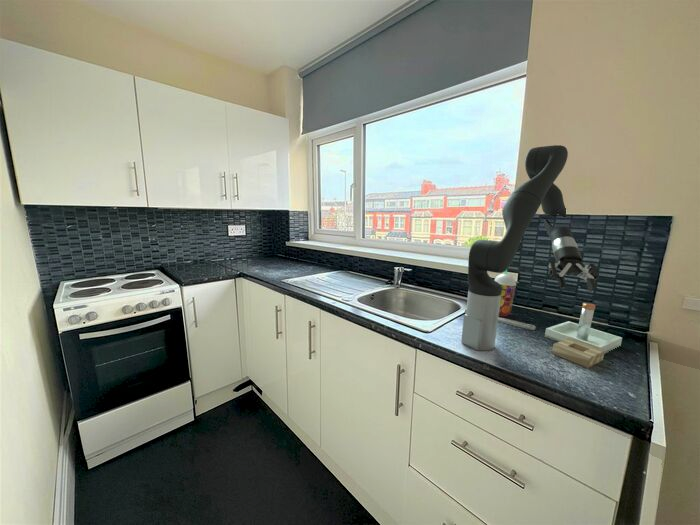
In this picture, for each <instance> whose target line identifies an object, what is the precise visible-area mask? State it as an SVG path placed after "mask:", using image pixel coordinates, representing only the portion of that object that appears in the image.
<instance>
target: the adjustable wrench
mask: <svg viewBox="0 0 700 525" xmlns="http://www.w3.org/2000/svg"><path fill="white" fill-rule="evenodd" d="M466 309H467V308H465V309H464V313H465V314H466ZM465 314H464V315H465ZM498 323H502V324H506V325H509V326H510V325H511V326H514V327H519V328H523V329H526V330H532V331H535V330H536V326H535V325H534V324H529V323H525V322H521V321H518V320H517V321H516V320H513V319H509V318H504V317H501V316H498Z"/></svg>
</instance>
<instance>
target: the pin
mask: <svg viewBox="0 0 700 525" xmlns="http://www.w3.org/2000/svg"><path fill="white" fill-rule="evenodd" d="M595 310H596V304H593V303H590V302H582V308H581V312H580V315H579V316H580V317H579V322H578V324H579V326H578V330H577V335H576V338H578V339H581V340H584V341H587V340H588V336H589V332H590V328H592V322H593V317H594V312H595Z"/></svg>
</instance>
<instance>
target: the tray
mask: <svg viewBox="0 0 700 525" xmlns="http://www.w3.org/2000/svg"><path fill="white" fill-rule="evenodd" d="M578 326H579V323H576V322H572V321H569V320H568V321H565V322H562V323H558V324H555V325H552V326H549V327H546V328H545V331H544V332H545V333H544V338H547V339H550V340H551V341H555V342H560V341H563V340H565V339H568V338H570V339H573V340H575V341H578V342H581V343H584V344H587V345H590V346H592V347H595V348H598V349H601V350H604V351H605V352H604V355H605V354H607V353H609V351H610V352H611V350H612V351H614V350H616V349H618V348H620V347H621V345H622V341H623V337H621V336H618V335H614V334H612V333H609V332H605V331H601V330H599V329H597V328H596V329H595V328H593V327H590V332H589V336H588V340H587V341H584V340H581V339H578V338H576V335H577V330H578ZM619 346H620V347H619ZM617 347H618V348H617ZM615 348H616V349H615ZM613 349H614V350H613Z"/></svg>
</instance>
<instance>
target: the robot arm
mask: <svg viewBox="0 0 700 525" xmlns="http://www.w3.org/2000/svg"><path fill="white" fill-rule="evenodd" d="M568 156H569V151H568V149H567V146H564V145H561V144H560V145H559V144H558V145H557V144H556V145H545V146H537V147H532V148H530V149H529V150H528V152H527V153H526V155H525V159H524V168H525V171H526V175H527V176H528V178H529V180H527V181H525V182H523V183H522V184H520V185H519V186H517V187H516V188H515V189H514V190H513V191H512V192H511V193H510V194H509V197H508V198H507V200H506V201H505V203H504V204H503V207H502V211H501V213H502V214H501V215H502V218H503V222H504V225H505V230H506V231H505V234H504V236H503V238H502V239H501V240H500V241H497V240H490V239H489V240H488V239H476V240H475V241H474V242H473V243H472V245H471V246H470V248H469V249H470V250H469V252H468V261H467V262H468V267H467V268H468V269H467V284H468V290H467V291H468V292H467V299H466V308H465V309H466V312H465V313H466V314H464V315H463V322H462V331H461V332H462V333H461V341H460V342H461V343H462V344H464V345H465V346H467V347H469V348H471V349H473V350H476V351H491V350H494V349H495V347H496V341H497V331H498V324H499V322H498V317H500V316H499V308H500V301H501V293H502V286H501V285H500V284H499V283H498V282H496V281H495V279H493V278H492V277H491V276H490V275H489V273H488V272H491V273H496V274H497V273H498V274H503V273H505V271H506V270H507V271H508V269H509V267H510V266H511V264H512V263H513V260H514V259H515V258H514V257H515V256H516V253H517V251H518V248H519V246H520V244H521V241H522V239H523V237H524V235H525V232H526V231H527V229H528V227H529V226H530V224H531V222H532V220H533V219H534V217H535V216H536V214H537V212H538V210H539V208H540V207H541V209H542V212H543V214H548V215H557V214H559V215H561V216H563V217H566V208H567V207H566V205H565V203H564V198H563V193H562V190H561V189H560V188H559V186H557V185H556V184H555V183H554V182H555V181H556V179H557V178H558V176H559V175H560V174H561V172H562V171H563V169H564V168H565V165H566V164H567V160H568ZM565 207H566V208H565ZM543 222H544V226H545V229H546V231H547V232H546V231H545V232H546V233H547V235H548V236H549V239H550V242H551V248H552V252H553V254H554V255H553V256H554V258H555V261H550V263H549V264H548V265H547V268H548V273H549V277H550V279H556V281H557V284H558V287H559V288H560V289H561V290H565V289H566V288H567V283H566V280H565V277H564V276H565V275H566V276H573V277H574V276H576V277H578V278H580V279H582V280H585V283H586V285H587V286H586V287H587V288H588V291H589V292H593V291H594V290H595V289H596V287H597V285H596V283H595V281H597V280H598V279H599V278H600V274H599V273H598V271H597V268H596V266H595V264H594V263H592V262H591V263H589V264H585V263H584V262H583V258H582V255H581V253H580V250H579V247H578V244H577V241H576V240H575V238H574V236H573V232H572V230H571V229H570V228H569V227H567V226H563V227H554V226H552V225H551V224H550V222H549V221H548V220H547V219H545V220H544V221H543ZM557 269H558V270H560V272H559V273H558V272H557Z"/></svg>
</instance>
